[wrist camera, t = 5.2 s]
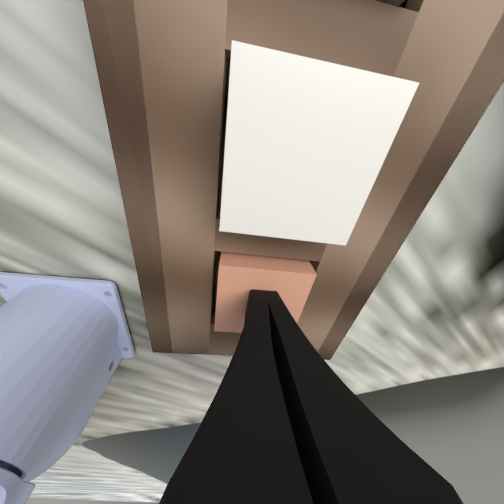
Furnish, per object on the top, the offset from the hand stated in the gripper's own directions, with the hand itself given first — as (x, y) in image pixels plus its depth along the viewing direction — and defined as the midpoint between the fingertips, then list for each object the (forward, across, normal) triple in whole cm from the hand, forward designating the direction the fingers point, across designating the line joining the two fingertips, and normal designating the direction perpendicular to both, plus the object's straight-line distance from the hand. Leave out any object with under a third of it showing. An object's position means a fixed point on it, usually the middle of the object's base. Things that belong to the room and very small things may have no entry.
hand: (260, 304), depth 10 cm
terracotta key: (+3, 0, 0) cm, 3 cm away
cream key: (+2, 0, -7) cm, 7 cm away
